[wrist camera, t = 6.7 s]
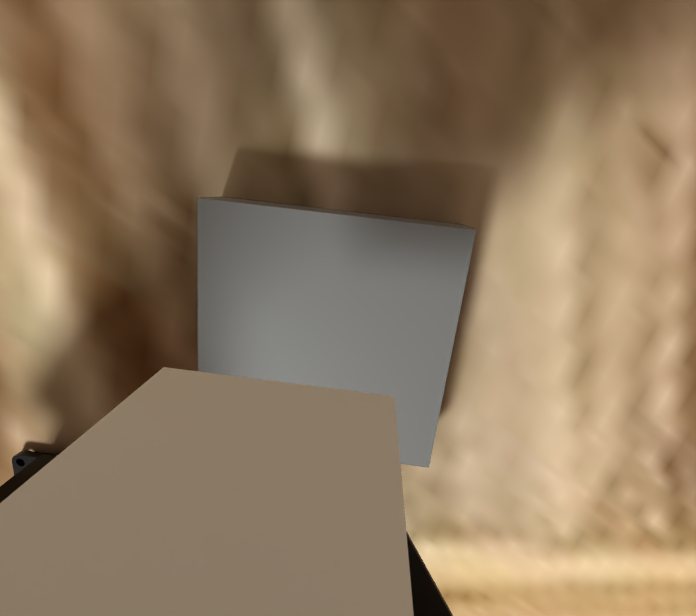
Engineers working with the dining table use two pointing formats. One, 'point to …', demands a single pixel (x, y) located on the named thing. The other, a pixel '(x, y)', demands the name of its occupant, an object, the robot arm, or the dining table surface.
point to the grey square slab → (333, 303)
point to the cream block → (216, 507)
